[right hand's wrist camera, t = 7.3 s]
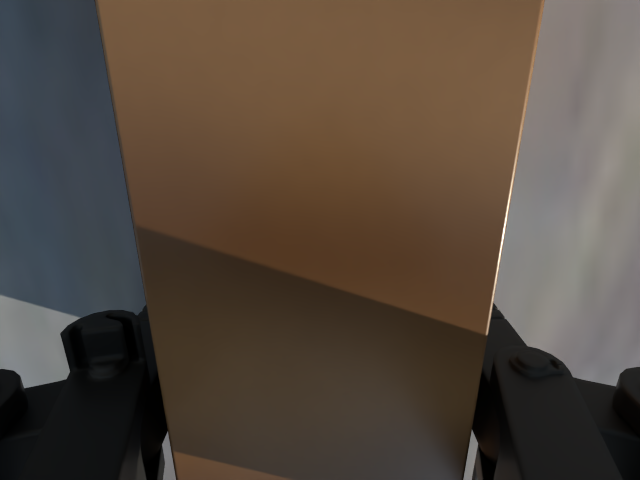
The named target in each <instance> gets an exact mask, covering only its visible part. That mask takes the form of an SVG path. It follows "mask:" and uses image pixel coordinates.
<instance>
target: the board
mask: <svg viewBox="0 0 640 480" xmlns="http://www.w3.org/2000/svg"><path fill="white" fill-rule="evenodd" d="M544 1H545V0H95V5H96V11H97V17H98V22H99V28H100V34H101V40H102V46H103V52H104V58H105V64H106V69H107V75H108V81H109V87H110V93H111V99H112V105H113V111H114V117H115V122H116V128H117V134H118V140H119V146H120V152H121V158H122V164H123V169H124V175H125V181H126V187H127V193H128V199H129V205H130V211H131V216H132V222H133V228H134V234H135V240H136V246H137V252H138V258H139V264H140V269H141V275H142V281H143V287H144V293H145V299H146V305H147V311H148V316H149V322H150V328H151V334H152V340H153V346H154V352H155V358H156V363H157V369H158V375H159V381H160V387H161V393H162V399H163V405H164V411H165V416H166V422H167V428H168V434H169V440H170V446H171V452H172V458H173V463H174V469H175V475H176V480H463V478H464V472H465V466H466V460H467V454H468V448H469V442H470V437H471V431H472V425H473V419H474V413H475V407H476V401H477V395H478V390H479V384H480V378H481V372H482V366H483V360H484V354H485V348H486V342H487V337H488V331H489V325H490V319H491V313H492V307H493V301H494V295H495V289H496V284H497V278H498V272H499V266H500V260H501V254H502V248H503V242H504V236H505V231H506V225H507V219H508V213H509V207H510V201H511V195H512V189H513V183H514V178H515V172H516V166H517V160H518V154H519V148H520V142H521V136H522V130H523V125H524V119H525V113H526V107H527V101H528V95H529V89H530V83H531V77H532V72H533V66H534V60H535V54H536V48H537V42H538V36H539V30H540V24H541V19H542V13H543V7H544Z"/></svg>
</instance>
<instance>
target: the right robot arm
mask: <svg viewBox="0 0 640 480" xmlns="http://www.w3.org/2000/svg"><path fill="white" fill-rule="evenodd" d="M60 334H61V338H62V342H63V346H64V350H65V353H66V357H67V361H68V365H69V369H70V373H69V375H68V377H67V379H66V380H62V381H58V382H54V383H49V384H44V385H39V386H34V387H29V388H24V387H23V384H22V380H21V377H20V375H18V374H17V373H16V372H15V371H12V370H5V369H0V480H163V473H164V466H165V461H164V454H163V448H162V443H163V441H164V439H165V436H166V434H167V432H168V428H167V422H166V416H165V411H164V405H163V399H162V393H161V387H160V381H159V375H158V369H157V363H156V358H155V352H154V346H153V340H152V334H151V328H150V322H149V316H148V311H147V305H146V306H145V307H144V308H143V311H142V312H140V313H139V315H138V316H137V315H135V314H134V313H133V312H129V311H124V310H108V311H103V312H98V313H94V314H91V315H88V316H85V317H83V318H80V319H78V320H77V321H75V322H73V323H71V324H70V325H68V326H67V327H66V328H65V329H64V330H63V331H62V332H61V333H60ZM472 430H473V432H474V435H475V437H476V439H477V442H478V448H477V454H476V459H475V465H474V470H473V476H472V480H640V367H635V368H628V369H626V370H624V371H623V372H622V373H621V374H620V376H619V379H618V382H617V386H611V385H606V384H601V383H596V382H591V381H586V380H581V379H577V378H574V377H572V375H571V373H570V371H569V370H568V368H567V367H566V366H565V364H564V363H563V362H562V361H560V360H559V359H557V358H556V357H554V356H553V355H551V354H549V353H547V352H544V351H542V350H540V349H537V348H533V347H528V346H527V345H526V344H525V343H524V341H523V340H522V339H521V338H520V336H519V335H518V334H517V332H516V331H515V330H514V329H513V327H512V326H511V325H510V323H509V322H508V321H507V320H506V319H505V318H504V316H503V314H502V313H501V312H500V311H499V310H497V307H496V305H495V304H494V303H493V307H492V313H491V319H490V325H489V331H488V337H487V342H486V348H485V354H484V360H483V366H482V372H481V378H480V384H479V390H478V395H477V401H476V407H475V413H474V419H473V425H472Z"/></svg>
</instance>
